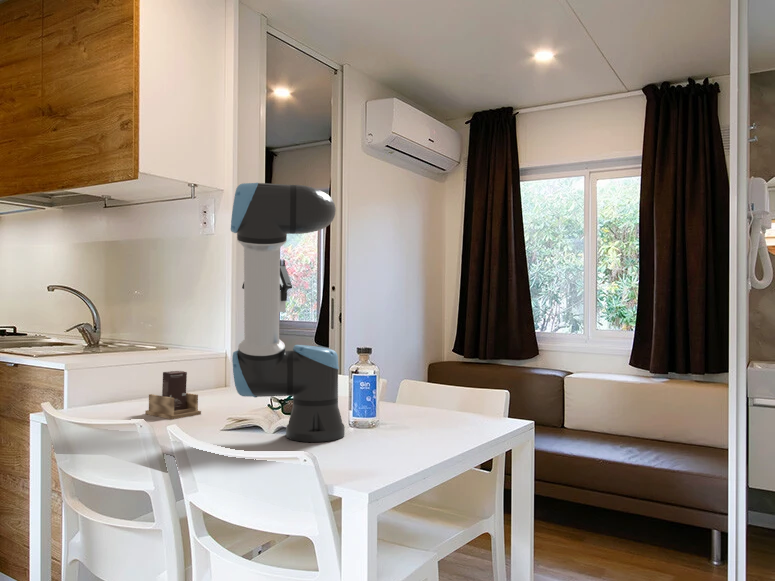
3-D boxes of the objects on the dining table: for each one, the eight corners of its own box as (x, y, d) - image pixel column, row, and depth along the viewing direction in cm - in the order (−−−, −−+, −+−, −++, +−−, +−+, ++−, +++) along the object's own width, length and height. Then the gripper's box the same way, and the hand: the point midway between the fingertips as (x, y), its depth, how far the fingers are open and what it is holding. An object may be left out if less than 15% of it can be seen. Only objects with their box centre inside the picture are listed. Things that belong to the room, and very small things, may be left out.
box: (168, 413, 180) (169, 373, 180) (161, 411, 183) (161, 371, 183) (187, 410, 184) (187, 371, 185) (179, 408, 187) (179, 370, 188)
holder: (201, 414, 184) (201, 394, 184) (172, 419, 176) (172, 398, 176) (174, 409, 192) (174, 390, 192) (145, 413, 184) (145, 394, 184)
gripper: (303, 243, 185) (303, 312, 184) (249, 247, 199) (248, 311, 199) (286, 241, 179) (285, 312, 178) (231, 245, 193) (230, 311, 193)
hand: (266, 311), depth 188 cm, fingers open, 13 cm apart
